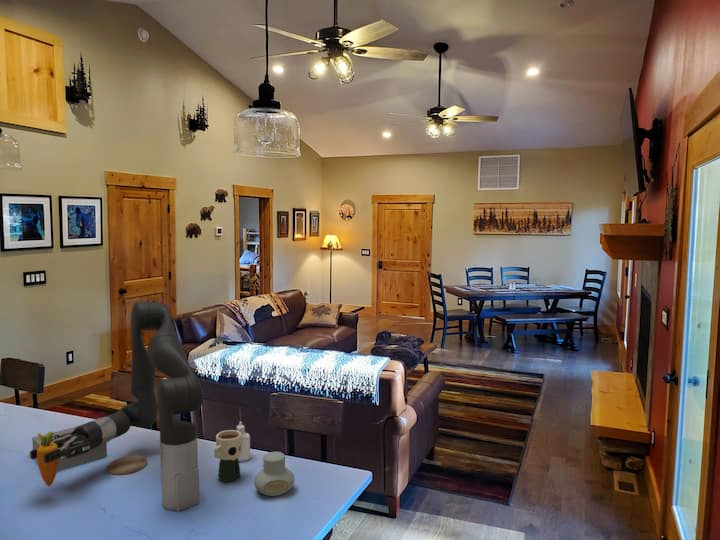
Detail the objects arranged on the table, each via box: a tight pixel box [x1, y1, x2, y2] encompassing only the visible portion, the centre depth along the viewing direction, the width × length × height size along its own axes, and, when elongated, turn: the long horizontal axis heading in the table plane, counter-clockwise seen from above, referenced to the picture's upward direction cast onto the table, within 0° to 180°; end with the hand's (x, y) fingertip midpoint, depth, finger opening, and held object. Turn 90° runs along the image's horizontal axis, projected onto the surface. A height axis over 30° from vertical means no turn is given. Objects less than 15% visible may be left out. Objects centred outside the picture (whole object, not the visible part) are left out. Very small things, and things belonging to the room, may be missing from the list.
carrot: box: [36, 430, 58, 487], centre depth 139 cm, size 5×5×15 cm
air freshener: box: [253, 451, 295, 497], centre depth 144 cm, size 11×8×10 cm
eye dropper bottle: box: [236, 421, 251, 463], centre depth 163 cm, size 4×6×12 cm
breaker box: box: [31, 425, 108, 472], centre depth 165 cm, size 18×16×6 cm
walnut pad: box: [107, 455, 148, 476], centre depth 158 cm, size 11×11×1 cm
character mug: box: [214, 429, 243, 482], centre depth 151 cm, size 11×7×13 cm, turn 150°
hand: (38, 457), depth 136 cm, fingers closed on carrot, 5 cm apart
